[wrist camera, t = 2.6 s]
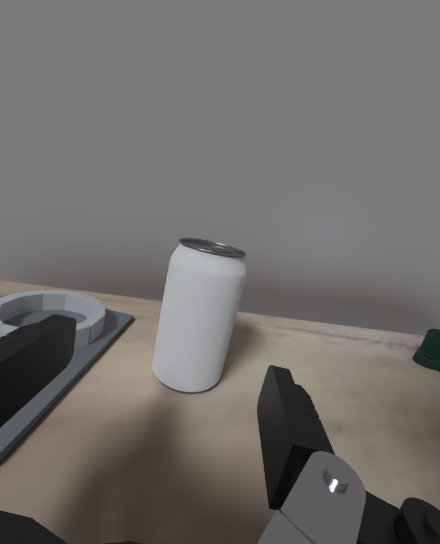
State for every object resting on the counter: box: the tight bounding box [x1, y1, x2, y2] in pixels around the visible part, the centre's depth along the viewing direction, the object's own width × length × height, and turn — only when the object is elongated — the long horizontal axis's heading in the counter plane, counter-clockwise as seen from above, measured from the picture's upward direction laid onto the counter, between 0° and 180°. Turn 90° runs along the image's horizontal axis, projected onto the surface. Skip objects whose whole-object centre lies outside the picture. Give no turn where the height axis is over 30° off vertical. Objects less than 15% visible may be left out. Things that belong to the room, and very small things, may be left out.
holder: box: [0, 290, 133, 461], centre depth 21 cm, size 12×18×2 cm, turn 177°
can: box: [152, 238, 246, 393], centre depth 22 cm, size 6×6×12 cm
